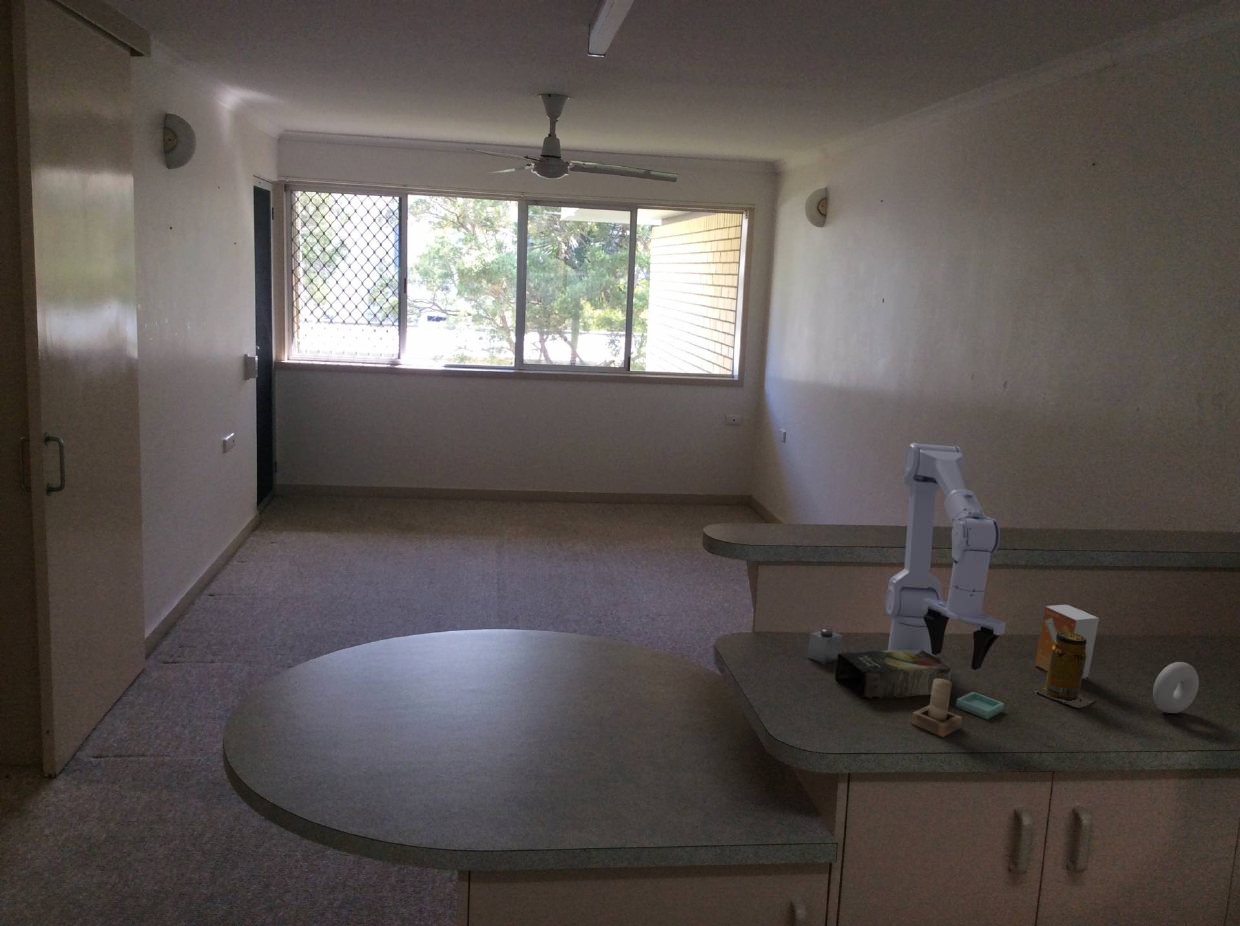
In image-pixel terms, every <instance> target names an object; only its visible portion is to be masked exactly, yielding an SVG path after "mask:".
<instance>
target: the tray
mask: <svg viewBox="0 0 1240 926" xmlns="http://www.w3.org/2000/svg"><path fill="white" fill-rule="evenodd" d="M1004 706H1005V703H1004V702H1002V701H999V700H996V699H994V698H991V697H988V696H986V695H984V694H981V693H979V692H975V691H971V692H969V693H967V694H964V695H963V696H961V697H958V698H957V699H956V703H955V707H956V708H957V709H960V710H962V711H965V712H968V713H970V714H973V715H976V716H977V717H980V718H983V719H985V720H989V719H991V718H992V717H995V716H997V715H998V714H1000V713H1003V712H1004V708H1005V707H1004Z"/></svg>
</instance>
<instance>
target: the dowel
mask: <svg viewBox="0 0 1240 926" xmlns="http://www.w3.org/2000/svg"><path fill="white" fill-rule="evenodd" d="M952 685H953V683H952V682H951V680H950V681H948V680H945V679H934V680H933V686H932V693H931V695H930V699H929V705H930V706H929V712H928V717H930V718H933V719H935V720H937V721H940V722H942V723H943V722H945V721H946V718H947V711H948V710H949V704H950V697H951V691H952ZM948 712H949V711H948Z"/></svg>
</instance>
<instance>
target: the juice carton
mask: <svg viewBox="0 0 1240 926" xmlns="http://www.w3.org/2000/svg"><path fill="white" fill-rule="evenodd" d="M837 658H838V659H837V661H836V668H835V674H834V679H835V680H834V681H836V682H838V680H846V679H847V680H849V679H860V682H859V686H858V687H857V689H856V690H857V692H858V694H859V695H860V696H861V698H865V697H866V698H869V699H872V698H873V697H878V698H880V699H883V698H889V699H894V698H895V699H896V698H903V697H905V698H909V697H914V696H915V697H916V696H927V695H930V696H931V693H932V686H933V680H934V679H945V680H948V681H950V682H951V678H950V677H951V674H952V673H951V672H952V667H951V666H950V665H949V664H948V663H946V662H945V661H942V658H940V657H937V655H931V654H929V653H927V652H925V651H924V650H888V649H887V650H869V651H863V652H862V651H861V652H840V654H838V657H837Z"/></svg>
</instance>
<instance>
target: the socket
mask: <svg viewBox="0 0 1240 926" xmlns="http://www.w3.org/2000/svg"><path fill="white" fill-rule="evenodd" d="M929 706H930V704H928V705H926V706H924V707H921V708H919V709H917V710H915V711H913V712H912V715H911V723H910V724H912V725H914V726H916V727H918V728H921V729H923V730H926V731H928V732H930V733H933V734H935V735H937V736H939V737H941V738H943V737H946V736H948V735H950V734H951V733H953V732H955V731H958V730H959V729H961V728H962V722H963V717H962V716H960V715H958V714H955V713H953V712H950V711H947V718H946V721H945V722H943V723H942V722H940V721H937V720H935V719H933V718H930V717H928V712H929Z"/></svg>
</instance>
